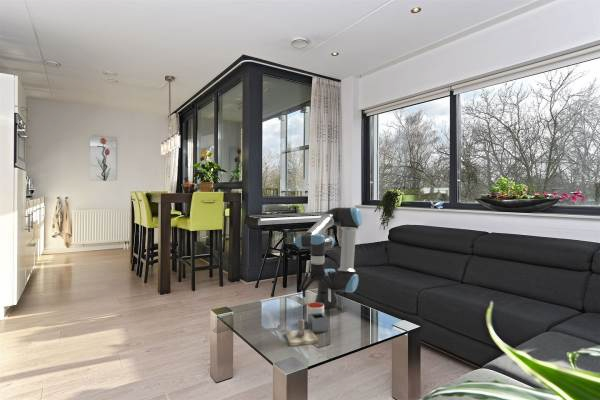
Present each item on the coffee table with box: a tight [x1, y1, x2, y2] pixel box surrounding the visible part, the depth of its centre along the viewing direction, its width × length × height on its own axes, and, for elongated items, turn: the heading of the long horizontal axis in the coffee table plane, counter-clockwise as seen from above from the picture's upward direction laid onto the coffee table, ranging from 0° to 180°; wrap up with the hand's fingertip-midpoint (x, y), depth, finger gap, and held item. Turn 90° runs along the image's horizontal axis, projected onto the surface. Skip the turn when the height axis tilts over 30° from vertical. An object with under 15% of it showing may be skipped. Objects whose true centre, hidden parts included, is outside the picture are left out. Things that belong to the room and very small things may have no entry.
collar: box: [307, 312, 330, 334], centre depth 193 cm, size 9×9×7 cm
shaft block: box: [284, 318, 319, 347], centre depth 181 cm, size 14×14×10 cm
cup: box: [306, 301, 325, 323], centre depth 203 cm, size 10×10×10 cm
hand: (317, 302), depth 193 cm, fingers open, 13 cm apart
